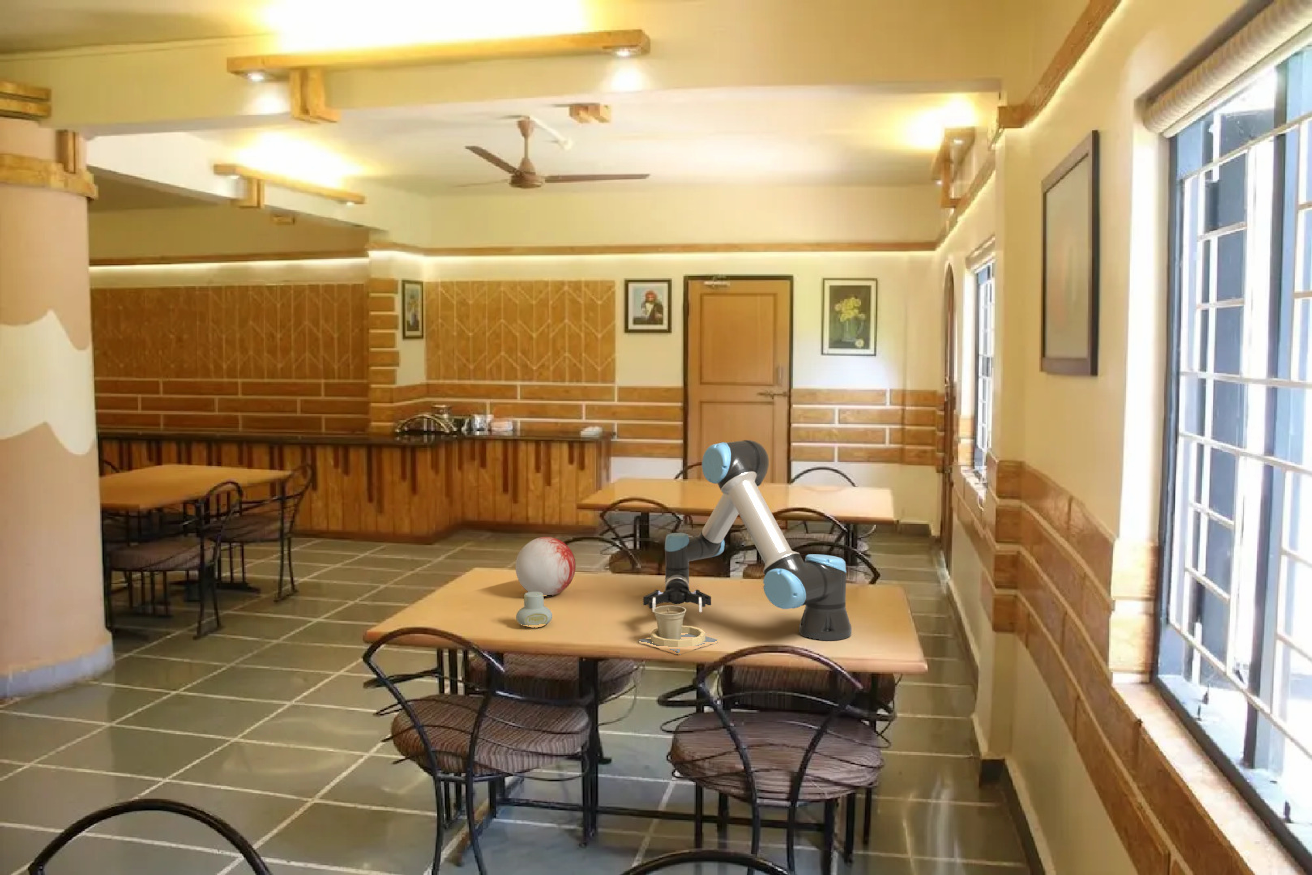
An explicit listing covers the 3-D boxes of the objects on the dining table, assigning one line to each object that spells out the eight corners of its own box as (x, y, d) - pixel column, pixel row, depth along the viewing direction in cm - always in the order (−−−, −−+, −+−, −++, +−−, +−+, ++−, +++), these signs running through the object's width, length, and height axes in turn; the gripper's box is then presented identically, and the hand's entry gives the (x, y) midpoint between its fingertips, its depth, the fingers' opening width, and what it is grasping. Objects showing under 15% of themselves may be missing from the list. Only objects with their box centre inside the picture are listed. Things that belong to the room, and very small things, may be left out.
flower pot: (685, 644, 292) (685, 614, 291) (652, 643, 292) (652, 613, 291) (686, 634, 301) (686, 605, 300) (654, 634, 302) (654, 605, 301)
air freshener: (518, 631, 310) (517, 598, 309) (514, 623, 318) (513, 591, 317) (554, 627, 313) (553, 595, 312) (549, 620, 321) (549, 589, 320)
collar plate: (717, 642, 296) (717, 632, 296) (677, 655, 285) (677, 644, 285) (678, 631, 307) (678, 621, 307) (638, 643, 297) (638, 632, 296)
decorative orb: (547, 585, 367) (545, 529, 365) (588, 593, 354) (587, 536, 352) (502, 597, 351) (501, 539, 349) (544, 606, 338) (543, 546, 336)
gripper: (717, 601, 323) (720, 619, 302) (637, 601, 324) (634, 620, 303) (717, 577, 323) (719, 594, 301) (637, 578, 323) (634, 595, 302)
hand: (677, 607), depth 302 cm, fingers open, 13 cm apart
